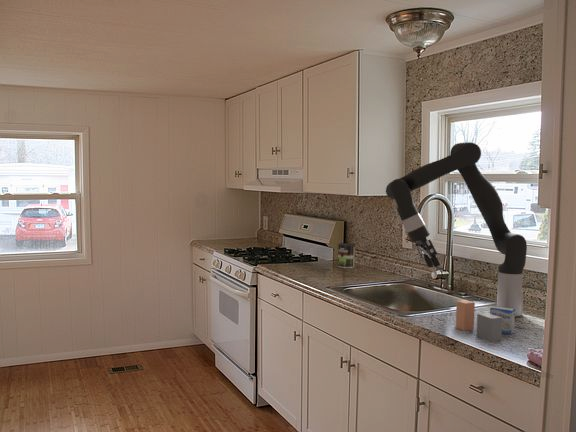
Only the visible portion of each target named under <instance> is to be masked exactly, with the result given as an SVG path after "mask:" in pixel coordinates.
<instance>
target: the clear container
mask: <svg viewBox="0 0 576 432" xmlns="http://www.w3.org/2000/svg"><path fill="white" fill-rule="evenodd" d="M337 245H338V246H337V247H338V248H337V250H338V251H337V252H338V253H337V254H338V255H337V268H340V269H354V268H355V255H356V254H355V251H356V247H355V246H356V244H354V243H345V242H344V243H343V242H339V243H337Z"/></svg>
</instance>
